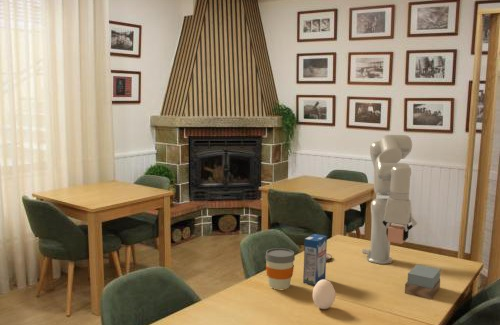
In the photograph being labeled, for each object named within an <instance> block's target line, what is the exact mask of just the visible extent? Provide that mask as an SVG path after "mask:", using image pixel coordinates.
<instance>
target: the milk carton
mask: <svg viewBox="0 0 500 325" xmlns="http://www.w3.org/2000/svg"><path fill="white" fill-rule="evenodd" d="M327 243H328V236H327V235H323V234H319V233H313V234H311V235H309V236H308V237H305V238H304V244H303V245H304V250H303V276H302V277H303V278H302V279H303V282H302V283H303V284H305V283H307V284H306V285H310V284H312V285H311V286H314V285H316V284H317V282H318V281H320V280H323V279H325V280H326V272H327V271H326V270H327V269H326V268H327V262H326V253H327V246H328V245H327Z"/></svg>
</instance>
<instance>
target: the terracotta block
mask: <svg viewBox="0 0 500 325" xmlns="http://www.w3.org/2000/svg"><path fill="white" fill-rule="evenodd" d="M404 231H405V229H404V226H403V225H401V224H394V223H392V224H391V226H389V227H388V238H387V241H388V242H390V243H395V244H400V245H402V244H404V243H405V242H406V241H407V239H406V240H405V241H404V240H403V233H404Z"/></svg>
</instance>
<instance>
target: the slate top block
mask: <svg viewBox="0 0 500 325" xmlns="http://www.w3.org/2000/svg"><path fill="white" fill-rule="evenodd" d="M441 270H442V268H438V267H432V266H427V265H424V264H423V265H421V264H415V265H414V266H413V268H412V269H411V270H410V271H409V272H408V273H407V281H406V283H407V284H411V285H416V286H420V287H425V288H429V289H433V287H434V286H435V285H436V283H437V282H438V281H439V280H440V281H441Z"/></svg>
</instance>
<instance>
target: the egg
mask: <svg viewBox="0 0 500 325" xmlns="http://www.w3.org/2000/svg"><path fill="white" fill-rule="evenodd" d="M312 301H313V303H314V304H315V305H316V307H318V309H321V310H327V309H329V308H331V306H332V305H334V302H335V301H336V291H335V287H334V285H333V284H332V282H331V281H329V279H328V280H327V279H326V278H325V279H323V280H320V281H318V282H317V284H316V285H315V286H314V287H313V289H312Z"/></svg>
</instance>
